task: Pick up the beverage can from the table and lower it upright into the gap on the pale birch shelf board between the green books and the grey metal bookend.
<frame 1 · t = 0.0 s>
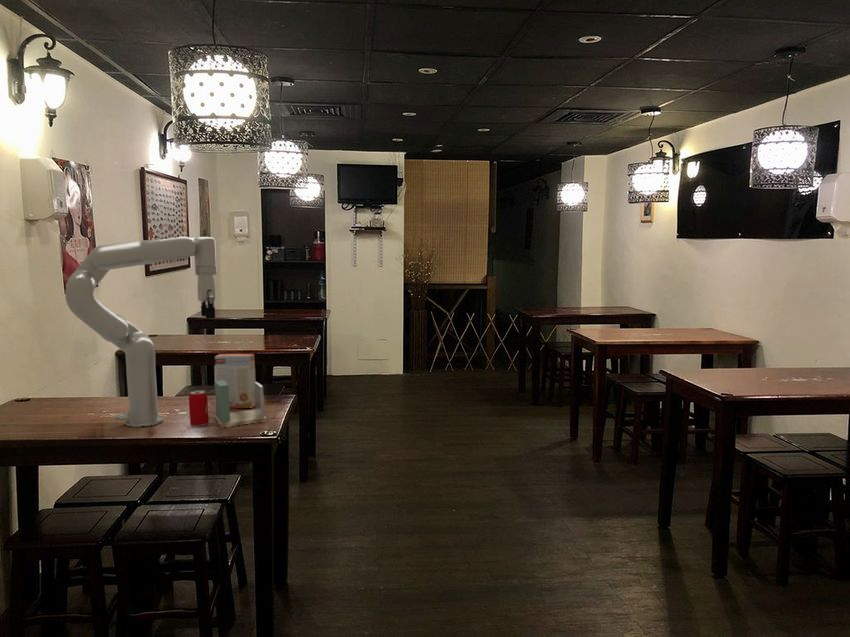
hand: (208, 317, 241), 37 cm above the table, tool pointing down, fingers open, 9 cm apart
bookend: (259, 417, 240), resting on shelf board
shelf board: (240, 420, 236), on the table
beverage can: (199, 425, 231), on the table
cracker box: (237, 407, 255), on the table
books: (223, 422, 234), resting on shelf board
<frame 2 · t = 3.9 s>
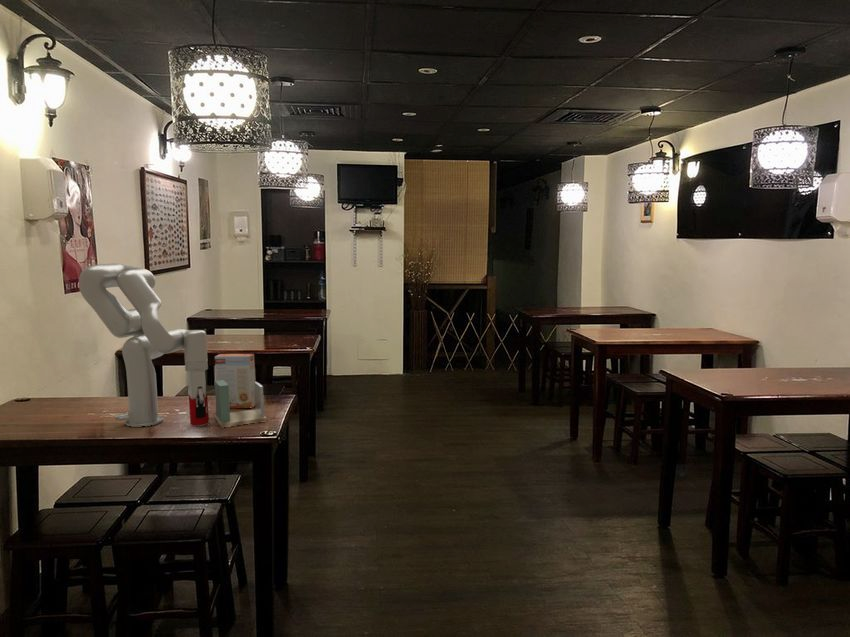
hand: (199, 414, 230), 4 cm above the table, tool pointing down, fingers closed on beverage can, 6 cm apart
beverage can: (199, 425, 231), on the table, touching gripper
everything else where it was.
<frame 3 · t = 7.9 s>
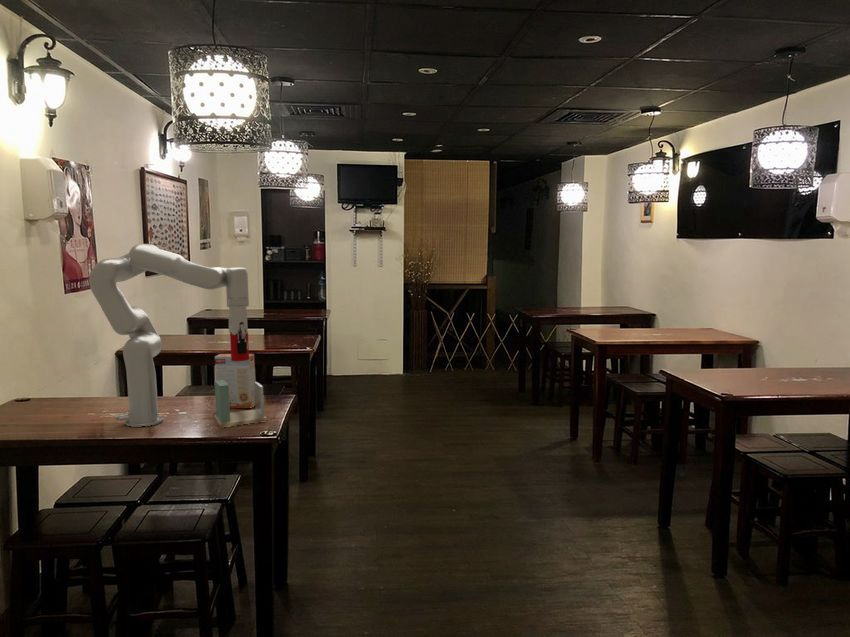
hand: (239, 351, 234), 25 cm above the table, tool pointing down, fingers closed on beverage can, 6 cm apart
beverage can: (240, 362, 234), point 21 cm above the table, touching gripper
everything else where it was.
when the fingers open (6 cm above the table, at t = 12.3 s): beverage can stays where it is, resting on shelf board.
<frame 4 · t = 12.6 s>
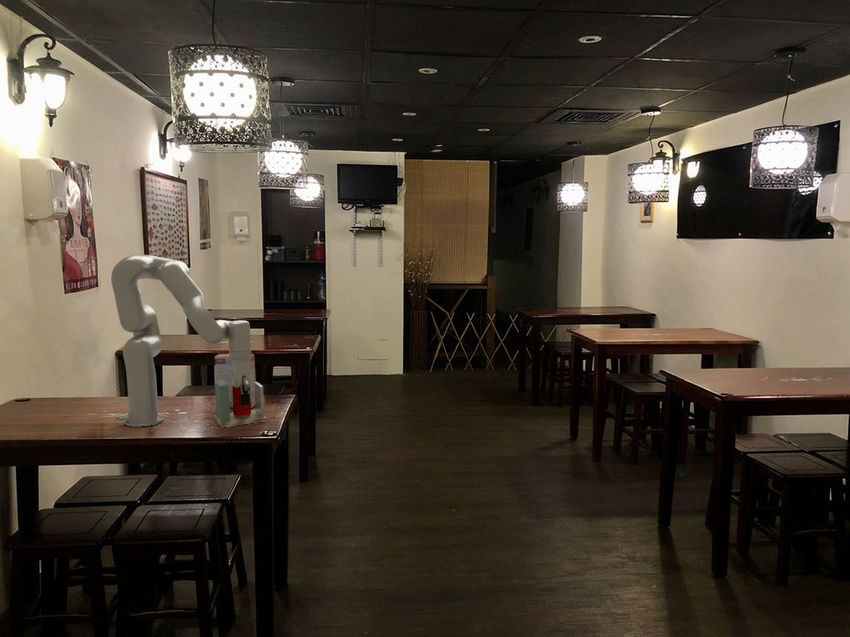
hand: (242, 401, 236), 7 cm above the table, tool pointing down, fingers open, 9 cm apart
beverage can: (242, 416, 237), point 1 cm above the table, touching shelf board
everything else where it was.
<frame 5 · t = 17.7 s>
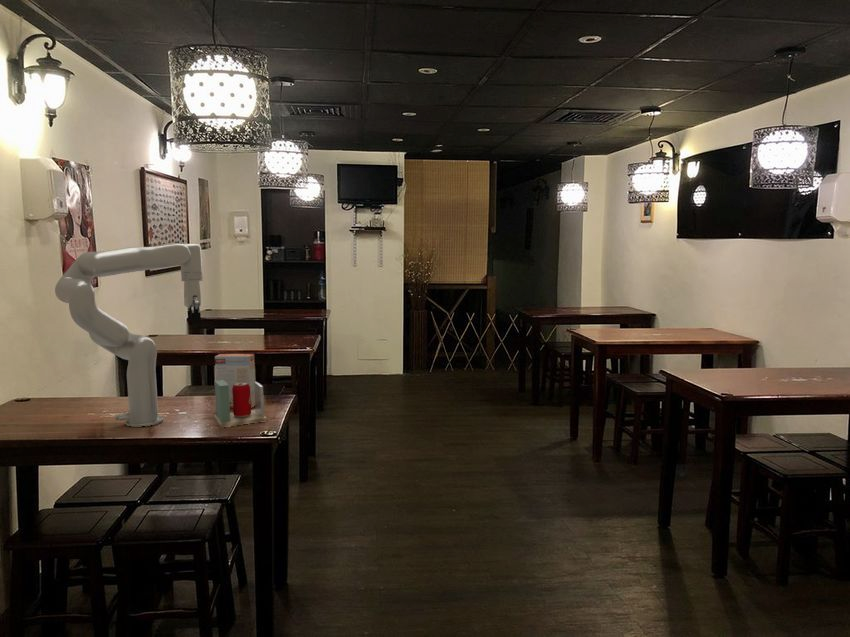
hand: (194, 322, 247), 34 cm above the table, tool pointing down, fingers open, 9 cm apart
nothing on the table moved.
at the end: beverage can 0.4 cm from the target spot on the shelf board, point 1.3 cm above the shelf board's base; beverage can tilted 0°; beverage can 6.3 cm from the bookend (horizontally) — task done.
